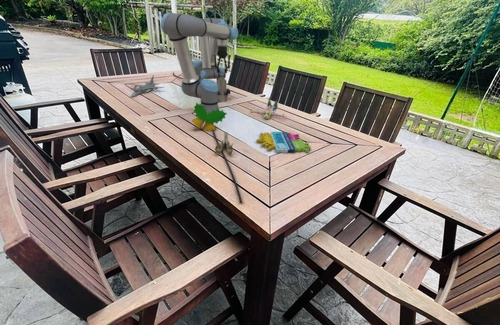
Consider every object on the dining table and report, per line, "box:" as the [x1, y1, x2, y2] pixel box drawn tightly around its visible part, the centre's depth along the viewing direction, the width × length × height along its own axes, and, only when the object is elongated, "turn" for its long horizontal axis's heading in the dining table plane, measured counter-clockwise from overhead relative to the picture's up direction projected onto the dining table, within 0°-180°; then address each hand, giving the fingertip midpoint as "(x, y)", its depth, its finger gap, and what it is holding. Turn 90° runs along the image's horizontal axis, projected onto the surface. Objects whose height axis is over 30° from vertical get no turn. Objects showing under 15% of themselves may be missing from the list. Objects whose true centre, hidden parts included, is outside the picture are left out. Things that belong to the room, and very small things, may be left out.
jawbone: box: [214, 131, 234, 156], centre depth 136 cm, size 9×15×10 cm
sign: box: [256, 131, 312, 154], centre depth 152 cm, size 26×2×30 cm
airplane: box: [129, 74, 165, 98], centre depth 227 cm, size 38×31×10 cm
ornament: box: [191, 102, 228, 132], centre depth 162 cm, size 21×8×15 cm, turn 105°
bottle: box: [216, 77, 227, 103], centre depth 215 cm, size 7×7×21 cm
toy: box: [249, 99, 287, 120], centre depth 196 cm, size 28×7×30 cm
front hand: (222, 77), depth 210 cm, fingers closed on cap, 4 cm apart
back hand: (222, 94), depth 212 cm, fingers closed on bottle, 7 cm apart
